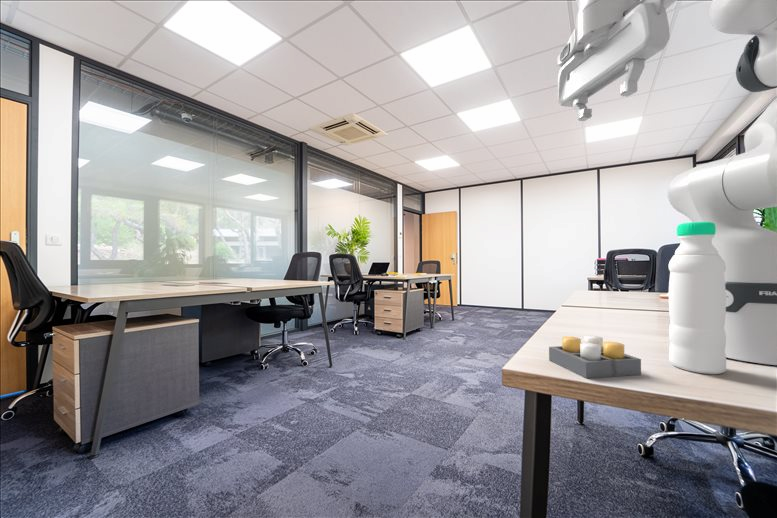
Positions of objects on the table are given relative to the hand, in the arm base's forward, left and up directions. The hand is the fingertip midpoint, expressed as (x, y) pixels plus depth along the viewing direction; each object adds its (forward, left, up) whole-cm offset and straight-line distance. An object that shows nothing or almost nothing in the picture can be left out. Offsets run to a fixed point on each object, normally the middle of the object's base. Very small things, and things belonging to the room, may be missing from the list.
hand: (604, 107), depth 56 cm
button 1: (+6, -1, -44) cm, 45 cm away
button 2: (+6, +3, -44) cm, 45 cm away
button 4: (+2, +3, -44) cm, 44 cm away
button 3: (+1, -1, -44) cm, 44 cm away
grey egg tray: (+4, +1, -46) cm, 46 cm away
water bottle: (-13, +4, -46) cm, 48 cm away
